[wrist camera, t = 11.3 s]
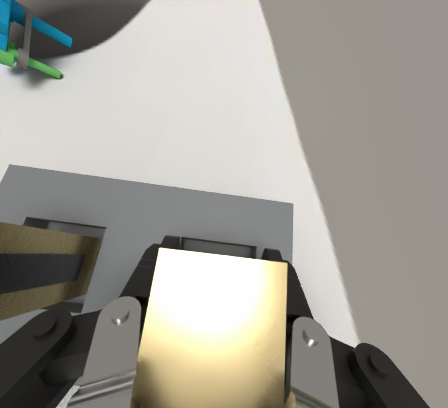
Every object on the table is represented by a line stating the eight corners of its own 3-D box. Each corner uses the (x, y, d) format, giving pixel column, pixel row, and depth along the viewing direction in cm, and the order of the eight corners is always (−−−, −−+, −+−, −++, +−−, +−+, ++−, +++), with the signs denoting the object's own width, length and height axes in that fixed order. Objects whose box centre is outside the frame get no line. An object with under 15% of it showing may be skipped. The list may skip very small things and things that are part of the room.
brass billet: (182, 305, 14) (126, 410, 5) (191, 251, 15) (159, 247, 6) (237, 311, 15) (292, 424, 5) (242, 257, 16) (294, 264, 6)
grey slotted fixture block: (-26, 345, 14) (-89, 369, 11) (43, 179, 17) (9, 164, 14) (273, 376, 14) (289, 406, 12) (279, 212, 18) (293, 203, 15)
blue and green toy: (-7, -7, 20) (-10, -117, 14) (64, 34, 25) (86, -36, 19) (-19, 86, 19) (-27, 10, 13) (58, 111, 24) (80, 65, 17)
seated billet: (36, 286, 14) (-345, 353, 4) (56, 232, 15) (-216, 191, 5) (94, 293, 14) (-151, 372, 5) (109, 239, 15) (-62, 211, 6)
